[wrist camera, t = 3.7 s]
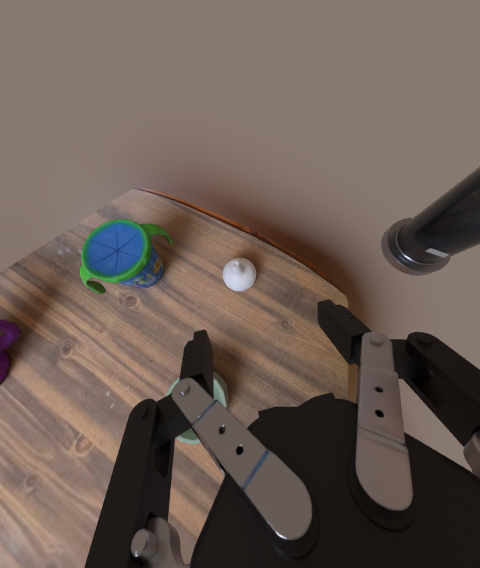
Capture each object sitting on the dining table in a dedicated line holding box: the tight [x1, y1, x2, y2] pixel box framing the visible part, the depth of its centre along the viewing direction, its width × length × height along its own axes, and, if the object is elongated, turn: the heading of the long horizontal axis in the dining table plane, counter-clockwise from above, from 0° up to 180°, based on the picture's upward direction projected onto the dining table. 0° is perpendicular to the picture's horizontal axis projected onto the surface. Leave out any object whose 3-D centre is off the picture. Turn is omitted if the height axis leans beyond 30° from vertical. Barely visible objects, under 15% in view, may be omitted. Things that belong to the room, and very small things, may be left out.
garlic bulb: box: [223, 258, 256, 291], centre depth 35 cm, size 6×6×8 cm
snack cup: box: [80, 219, 173, 294], centre depth 35 cm, size 16×10×10 cm
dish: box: [165, 371, 229, 444], centre depth 31 cm, size 9×9×5 cm
